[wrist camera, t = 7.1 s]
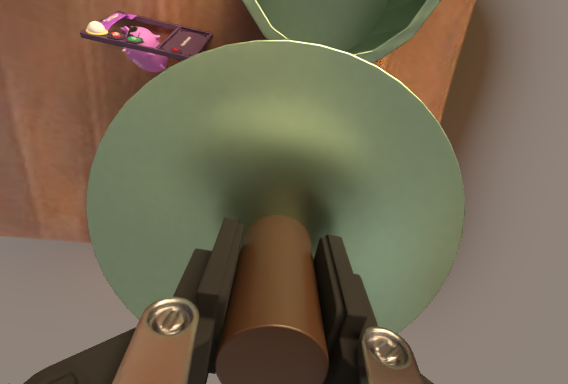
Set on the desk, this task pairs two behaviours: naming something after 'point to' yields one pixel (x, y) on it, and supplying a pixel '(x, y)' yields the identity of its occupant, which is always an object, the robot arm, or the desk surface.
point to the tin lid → (277, 195)
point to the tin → (343, 23)
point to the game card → (149, 41)
